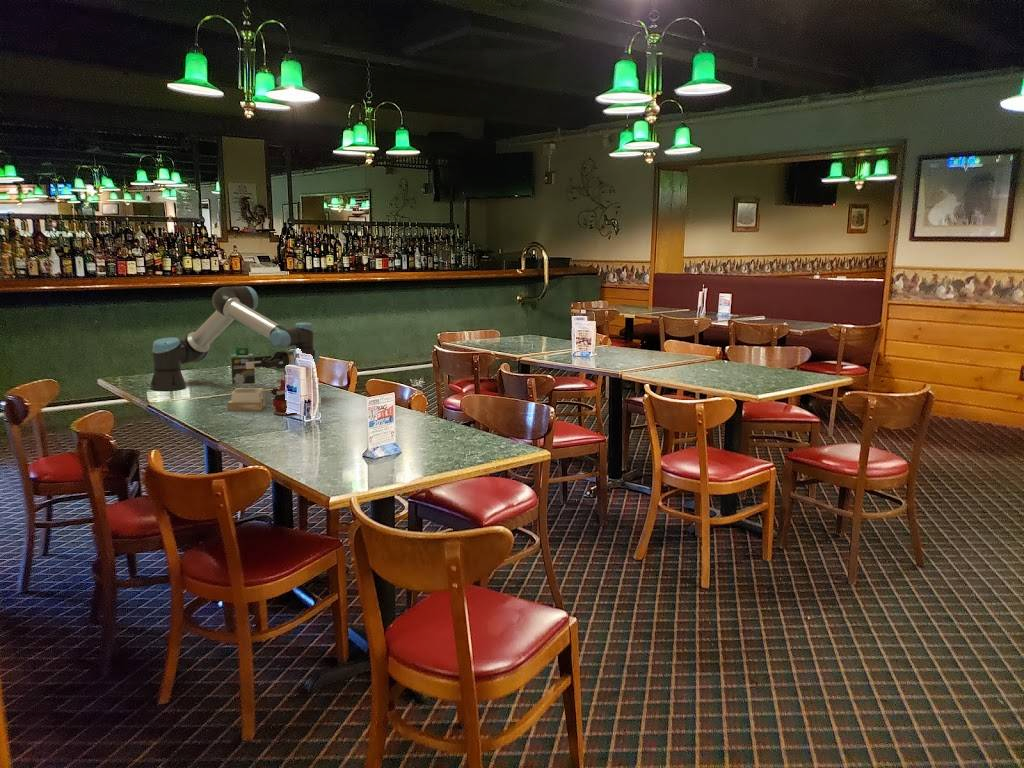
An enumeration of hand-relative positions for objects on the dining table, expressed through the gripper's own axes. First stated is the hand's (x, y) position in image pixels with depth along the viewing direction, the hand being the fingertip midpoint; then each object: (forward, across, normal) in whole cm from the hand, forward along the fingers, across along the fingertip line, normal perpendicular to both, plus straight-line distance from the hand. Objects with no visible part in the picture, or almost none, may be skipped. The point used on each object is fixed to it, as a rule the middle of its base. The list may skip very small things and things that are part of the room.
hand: (238, 363), depth 308 cm
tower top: (-3, 0, -16) cm, 16 cm away
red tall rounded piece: (-10, -19, -19) cm, 29 cm away
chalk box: (-2, 0, -8) cm, 8 cm away
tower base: (-3, 0, -20) cm, 20 cm away
